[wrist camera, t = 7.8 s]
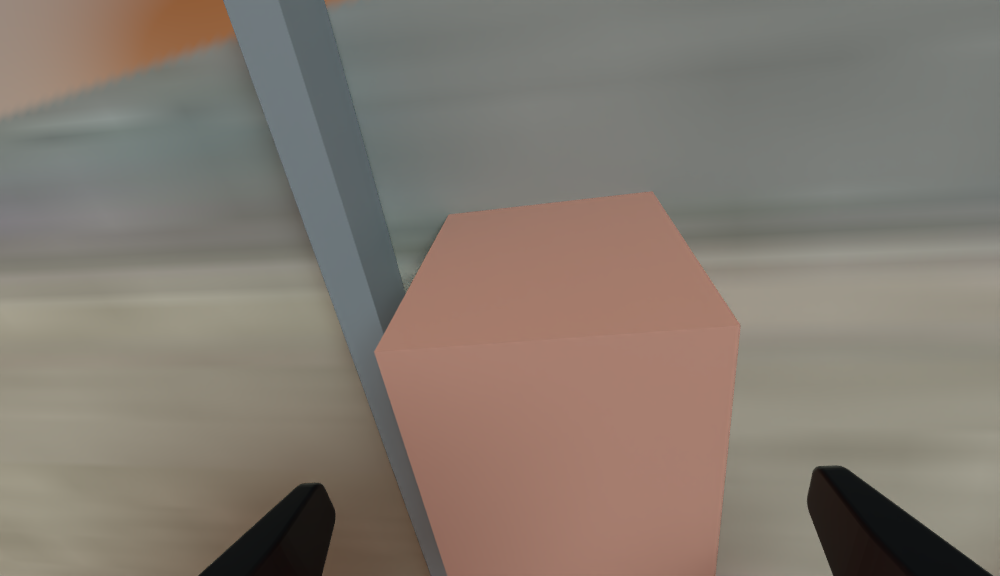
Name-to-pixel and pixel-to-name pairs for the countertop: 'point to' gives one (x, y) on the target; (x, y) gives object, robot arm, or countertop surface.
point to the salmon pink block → (566, 391)
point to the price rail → (333, 198)
